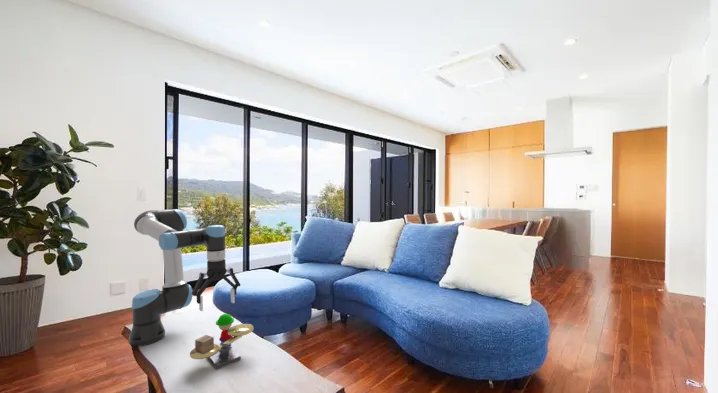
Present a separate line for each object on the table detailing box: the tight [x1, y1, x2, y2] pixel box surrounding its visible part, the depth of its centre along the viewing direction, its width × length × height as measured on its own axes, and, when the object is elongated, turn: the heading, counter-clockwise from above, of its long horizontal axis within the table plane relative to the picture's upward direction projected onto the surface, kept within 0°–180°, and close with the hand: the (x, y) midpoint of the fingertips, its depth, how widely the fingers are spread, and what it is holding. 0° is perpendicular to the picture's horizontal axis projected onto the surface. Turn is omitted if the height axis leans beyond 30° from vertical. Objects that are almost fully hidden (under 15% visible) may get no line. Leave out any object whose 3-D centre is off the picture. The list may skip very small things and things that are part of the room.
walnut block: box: [194, 334, 215, 354], centre depth 130 cm, size 5×5×5 cm
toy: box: [215, 313, 235, 347], centre depth 147 cm, size 8×8×15 cm
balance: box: [189, 323, 255, 370], centre depth 135 cm, size 12×26×11 cm, turn 133°
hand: (217, 306), depth 139 cm, fingers open, 13 cm apart
